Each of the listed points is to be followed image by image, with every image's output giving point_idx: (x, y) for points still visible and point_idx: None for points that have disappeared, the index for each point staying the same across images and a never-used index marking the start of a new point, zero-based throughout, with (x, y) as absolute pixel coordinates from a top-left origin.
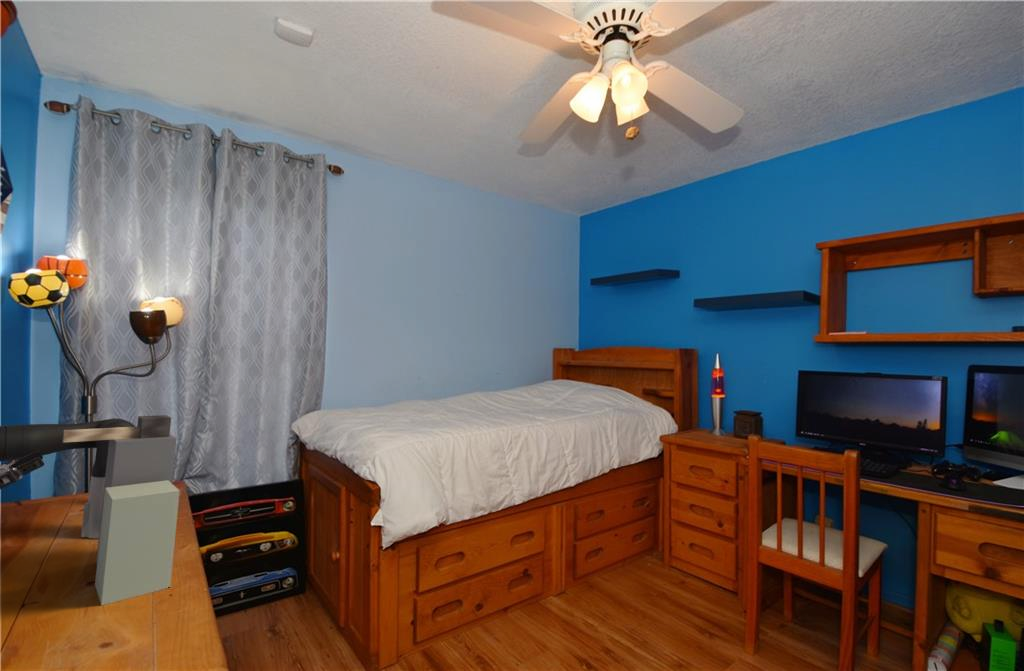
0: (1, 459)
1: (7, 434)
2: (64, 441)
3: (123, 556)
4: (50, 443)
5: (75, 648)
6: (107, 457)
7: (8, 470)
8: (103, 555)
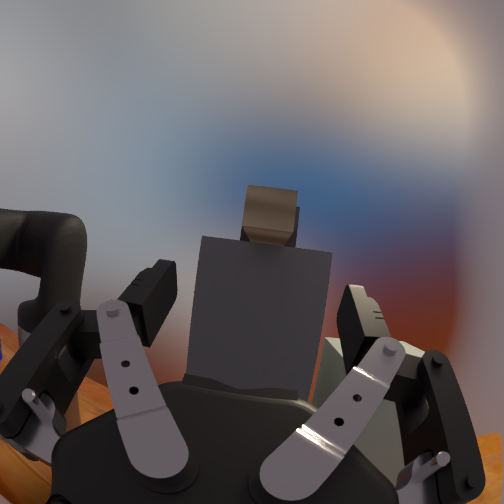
0: None
1: None
2: (293, 228)
3: None
4: None
5: (482, 498)
6: (196, 297)
7: (380, 363)
8: (385, 466)
